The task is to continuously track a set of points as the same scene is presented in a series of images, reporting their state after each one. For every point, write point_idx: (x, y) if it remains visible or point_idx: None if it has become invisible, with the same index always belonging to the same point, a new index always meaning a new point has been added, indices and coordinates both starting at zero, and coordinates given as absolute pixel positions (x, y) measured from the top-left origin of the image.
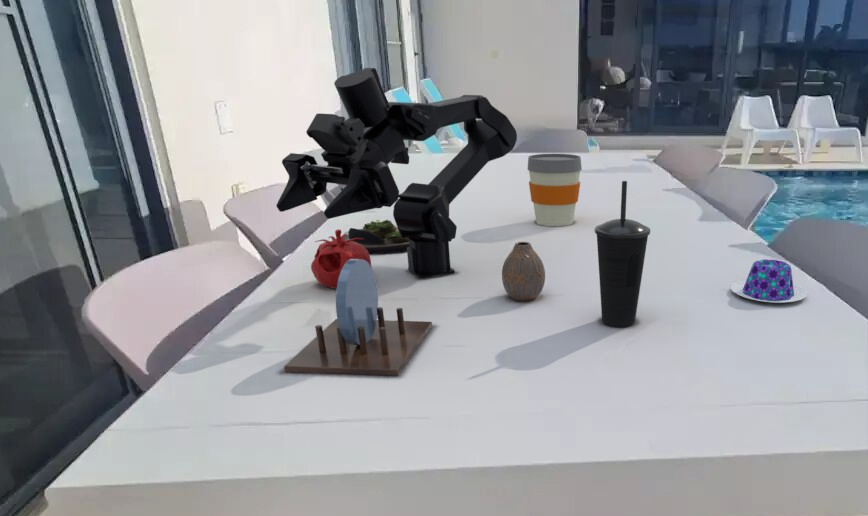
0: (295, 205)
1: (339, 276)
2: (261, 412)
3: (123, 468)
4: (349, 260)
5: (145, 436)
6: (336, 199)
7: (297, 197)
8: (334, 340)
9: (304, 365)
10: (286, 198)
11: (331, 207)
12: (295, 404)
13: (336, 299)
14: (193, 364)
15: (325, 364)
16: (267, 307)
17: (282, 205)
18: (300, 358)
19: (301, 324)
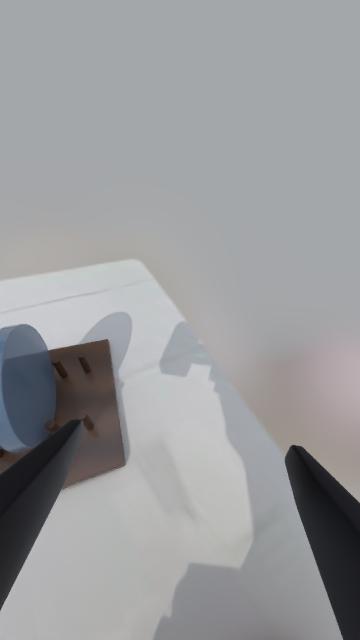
0: (317, 554)
1: (18, 325)
2: (90, 302)
3: (123, 265)
4: (1, 347)
5: (136, 278)
6: (21, 472)
7: (354, 599)
8: (88, 396)
9: (90, 344)
10: (319, 495)
11: (49, 436)
12: (73, 312)
13: (32, 327)
14: (187, 333)
15: (72, 350)
16: (268, 482)
17: (296, 466)
18: (101, 352)
19: (171, 442)
